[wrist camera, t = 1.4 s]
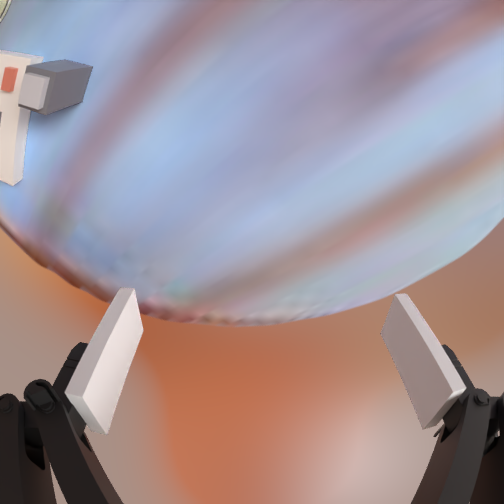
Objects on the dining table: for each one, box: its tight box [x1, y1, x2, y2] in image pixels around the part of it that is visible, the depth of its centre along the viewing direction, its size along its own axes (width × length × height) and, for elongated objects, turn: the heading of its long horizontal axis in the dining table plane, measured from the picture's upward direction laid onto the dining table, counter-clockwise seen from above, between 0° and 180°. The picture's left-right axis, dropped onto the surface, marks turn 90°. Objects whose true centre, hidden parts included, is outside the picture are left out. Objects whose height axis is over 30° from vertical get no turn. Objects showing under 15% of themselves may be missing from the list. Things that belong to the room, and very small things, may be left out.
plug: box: [18, 60, 93, 115], centre depth 22 cm, size 4×4×8 cm
